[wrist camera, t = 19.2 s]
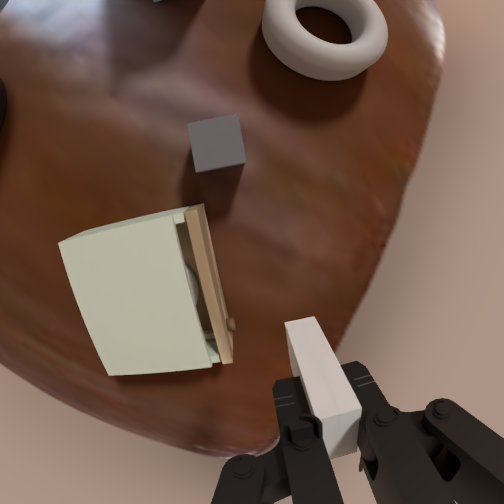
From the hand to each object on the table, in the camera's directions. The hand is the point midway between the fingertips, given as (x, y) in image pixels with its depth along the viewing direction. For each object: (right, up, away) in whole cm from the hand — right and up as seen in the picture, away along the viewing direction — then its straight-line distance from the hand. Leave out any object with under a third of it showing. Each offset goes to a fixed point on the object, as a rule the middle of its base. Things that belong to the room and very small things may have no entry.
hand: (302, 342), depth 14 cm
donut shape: (+6, +33, +15) cm, 37 cm away
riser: (-6, +17, +18) cm, 26 cm away
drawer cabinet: (-16, 0, +22) cm, 27 cm away
